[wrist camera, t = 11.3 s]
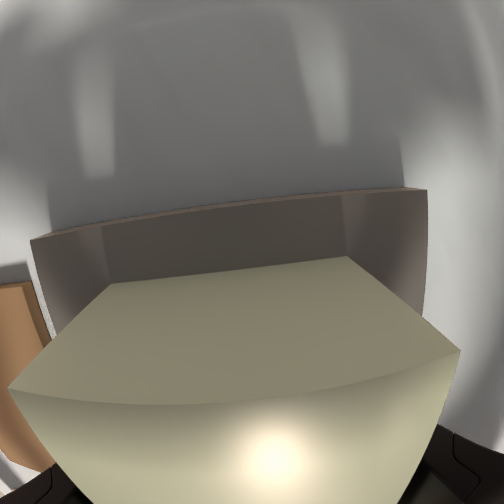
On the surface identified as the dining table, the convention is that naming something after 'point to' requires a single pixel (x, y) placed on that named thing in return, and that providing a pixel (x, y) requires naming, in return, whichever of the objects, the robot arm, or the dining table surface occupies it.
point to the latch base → (240, 244)
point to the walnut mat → (13, 363)
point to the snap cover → (241, 389)
